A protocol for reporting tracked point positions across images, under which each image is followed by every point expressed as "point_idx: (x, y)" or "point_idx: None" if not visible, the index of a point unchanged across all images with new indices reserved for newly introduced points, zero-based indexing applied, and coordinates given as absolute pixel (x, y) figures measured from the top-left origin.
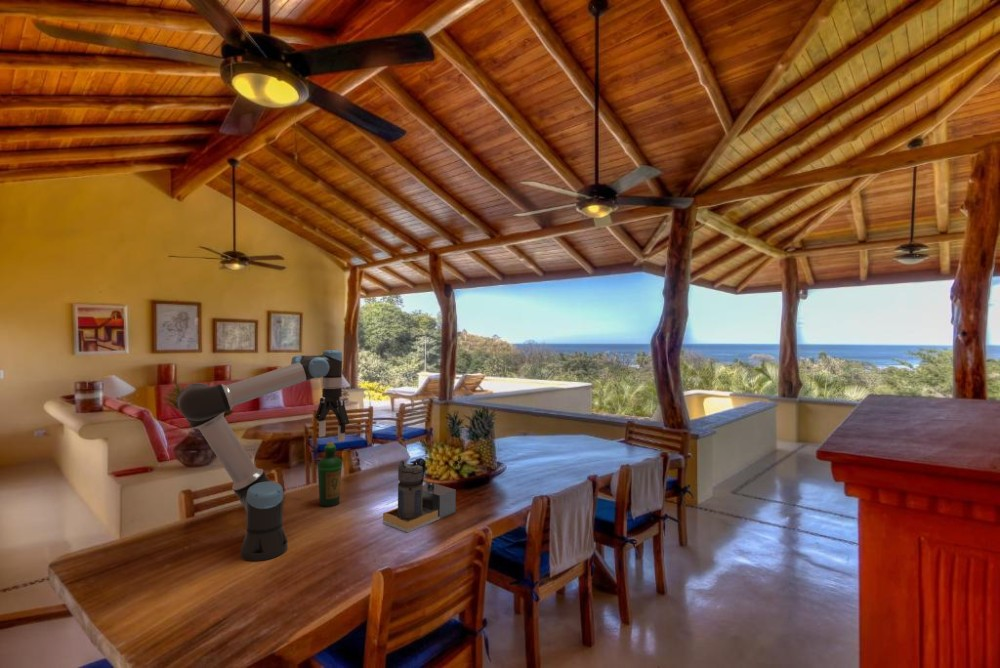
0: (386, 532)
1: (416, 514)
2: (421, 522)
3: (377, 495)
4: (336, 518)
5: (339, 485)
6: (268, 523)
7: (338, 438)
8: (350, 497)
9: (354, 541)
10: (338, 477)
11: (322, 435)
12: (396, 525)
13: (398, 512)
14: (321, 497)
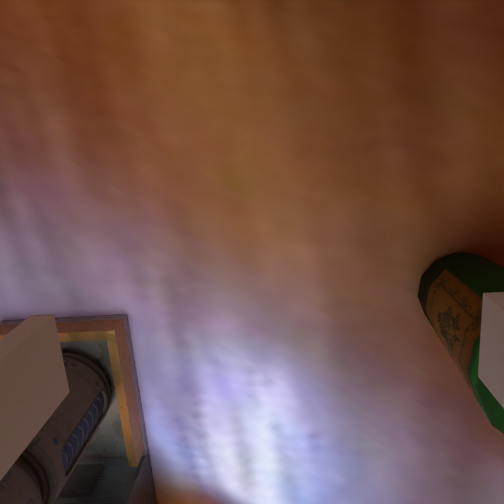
0: (48, 277)
1: None
2: None
3: (384, 457)
4: (292, 226)
5: (447, 349)
6: None
7: (17, 332)
8: (452, 381)
9: (52, 159)
10: (457, 361)
11: (487, 339)
12: None
13: (66, 365)
14: (471, 261)
